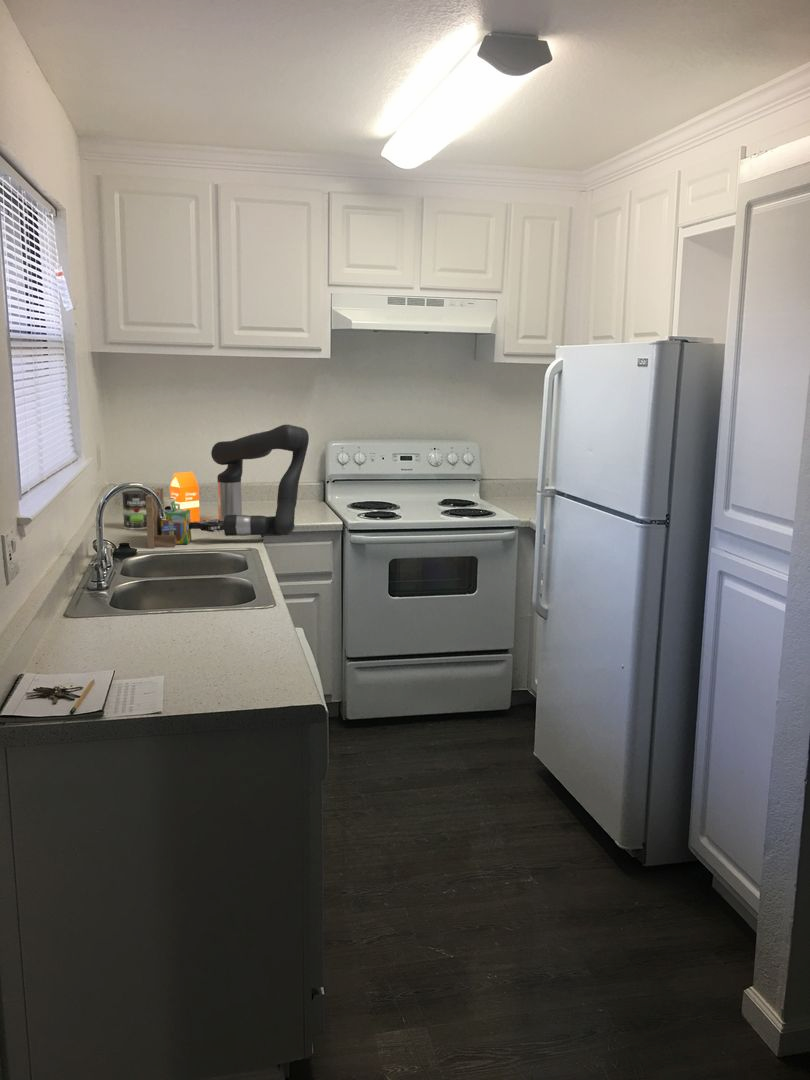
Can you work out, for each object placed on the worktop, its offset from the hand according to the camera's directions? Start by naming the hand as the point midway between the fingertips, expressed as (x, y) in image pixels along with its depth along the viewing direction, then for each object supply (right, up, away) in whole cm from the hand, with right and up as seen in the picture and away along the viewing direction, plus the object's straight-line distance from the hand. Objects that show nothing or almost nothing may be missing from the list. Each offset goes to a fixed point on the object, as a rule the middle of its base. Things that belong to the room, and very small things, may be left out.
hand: (189, 525), depth 309 cm
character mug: (-13, -2, +20) cm, 24 cm away
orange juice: (-13, +2, +45) cm, 47 cm away
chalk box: (-5, -6, 0) cm, 8 cm away
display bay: (-8, -6, 0) cm, 10 cm away
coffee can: (-27, -1, +29) cm, 40 cm away
